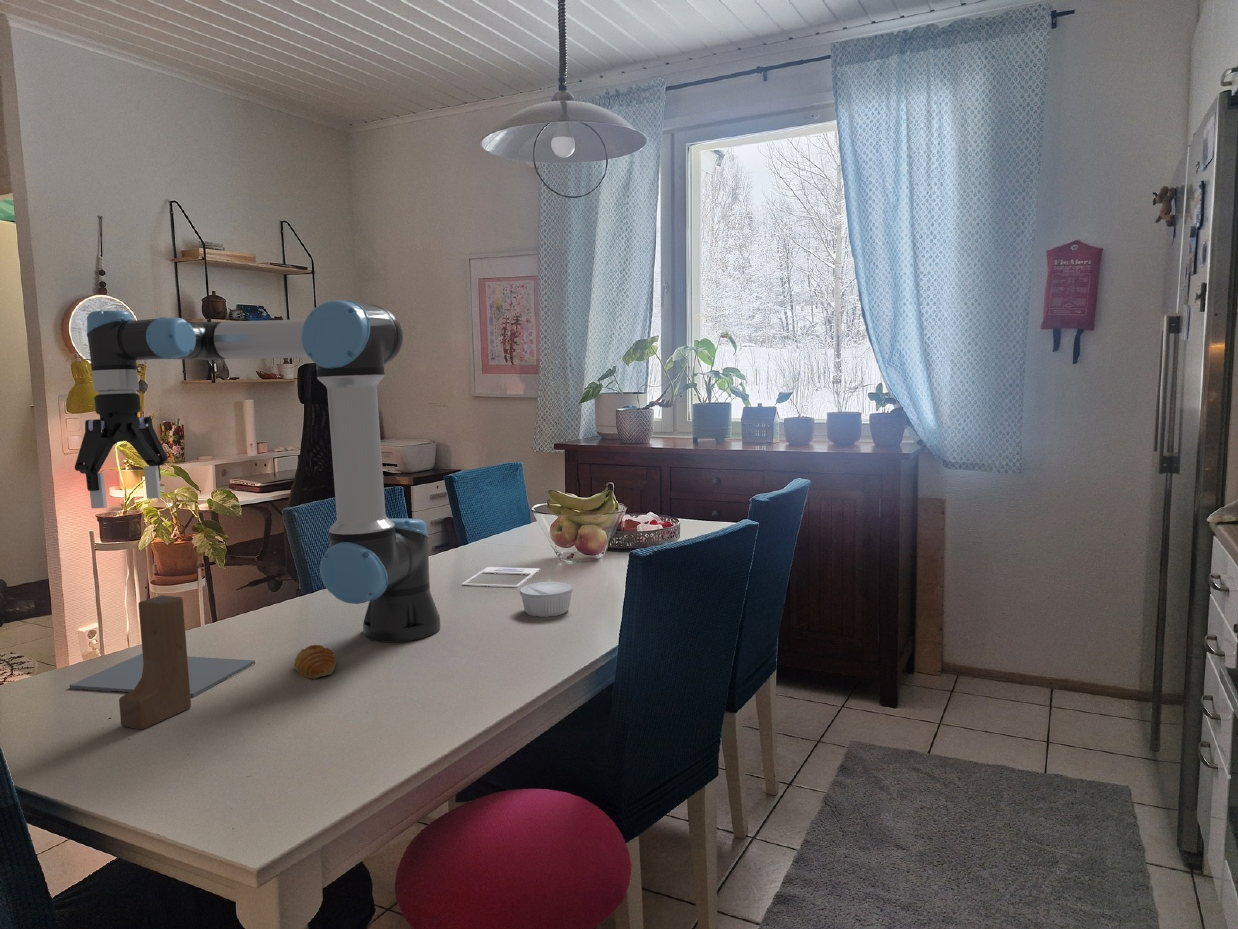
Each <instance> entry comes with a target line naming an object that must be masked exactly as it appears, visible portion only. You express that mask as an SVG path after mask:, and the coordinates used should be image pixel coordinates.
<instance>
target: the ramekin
mask: <svg viewBox="0 0 1238 929" xmlns="http://www.w3.org/2000/svg"><path fill="white" fill-rule="evenodd" d="M572 593H573V586H572V585H570V584H569V583H566V582H562V581H542V582H534V583H530V584H527V585H525V586H524V585H523V586H522V587H521V588H520V590H519V595H520V596H521V599H522V605H523V608H524V609H523V610H524V612H525V613H526V614H527V615H529V616H531V617H536V616H539V618H540V617H541V618H549V616H552V617H556V616H560V615H564V614H566V613H567V612H568V611H569V608H570V606H571V605H570V604H571V598H572Z"/></svg>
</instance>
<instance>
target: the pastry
mask: <svg viewBox="0 0 1238 929" xmlns="http://www.w3.org/2000/svg"><path fill="white" fill-rule="evenodd" d="M336 664H337V658H336V656H335V655H334V651H333V650H332V649H331V648H329V647H325V646H323V645H319V644H313V645H308V646H306V647H305V648H302V649H301V650H300V651H299V652H298V653H297V655H296V657H295V661H294V665H293V666H294V669H295V670H296V672H297V673H298V674H299V675H301V676H303V677H305V678H307V679H313V680H314V679H318V678H320V677H323V676H324V677H326V676H330V675H332V673H333V672H334V671H335V669H336Z"/></svg>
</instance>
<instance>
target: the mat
mask: <svg viewBox="0 0 1238 929" xmlns="http://www.w3.org/2000/svg"><path fill="white" fill-rule="evenodd" d="M187 660H188V672H189V685H190V698H195V697H197V696H199V695H200V694H202V693H204V692H207V691H208V690H209V688H210V689H212V688H214V687H215V686H216V685H215V684H217V685H219V684H220V683H219V682H221V681H222V682H224V681H226V680H228V679H230V678H231V676H232V675H233V676H235V675H237V674H239V673H241V672H243V671H244V670H246V669H248V668H250V667H251V665H252V664H254V665H255V664H256V660H253V659H237V658H220V657H219V658H217V657H216V658H215V657H202V656H201V657H200V656H187ZM143 665H144V664H143V653H139V654H138V655H136V656H133V657H130V658H128V659H126V660H124V661H121V662H119V663H117V664H115V665H113V666H112V665H111V667H108V668H105V669H104V670H102V671H99V672H97V673H94V674H92V675H90V676H87V677H84V678H83V679H80V680H78V681H76V682H74V683H71V684H69V689H73V690H82V689H85V690H84V691H97V690H99V691H98V692H111V691H119V692H118V693H125V692H130V691H132V690H134V689H135V687H136V686H137V684H138V682H139V681H140V679H141V678H142V672H143ZM252 666H253V665H252ZM247 667H248V668H247ZM245 668H246V669H245ZM242 670H243V671H242ZM240 671H241V672H240ZM238 672H239V673H238ZM236 673H237V674H236ZM234 674H235V675H234ZM233 676H232V677H233ZM229 677H230V678H229ZM227 678H228V679H227ZM225 679H226V680H225ZM222 682H221V683H222ZM218 683H219V684H218ZM214 685H215V686H214ZM86 689H88V690H86ZM207 689H208V690H207ZM100 690H101V691H100ZM120 691H122V692H120ZM203 691H204V692H203ZM196 695H197V696H196Z"/></svg>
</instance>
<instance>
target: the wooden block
mask: <svg viewBox="0 0 1238 929" xmlns="http://www.w3.org/2000/svg"><path fill="white" fill-rule="evenodd" d="M137 606H138V616H139V627H140V629H139V630H140V638H141V640H140V642H141V649H142V654H143V664H144V665H143V672H142V678H141V679H140V681H139V682H138V684H137V686H136V687H135V689H134V690H132V691H130V692H129V693H124V695H122V696H120V697H119V699H118V703H119V704H118V706H119V715H120V716H119V717H120V725H121V726H122V727H125V728H129V729H130V728H131V729H134V730H135V729H136V730H142V731H143V730H145V729H147V728H149V727H151V726H154V725H155V724H158V723H160V722H162V721H164V720H167V719H169V718H172V717H173V716H175V715H178V714H180V713H182V712H185V711H187V710H189V709H190V708H192V701H191V700H192V699H191V698H192V697H190V685H189V672H188V660H187V657H188V651H187V650H188V649H187V636H186V625H185V624H186V623H185V611H184V599H183V597H182V596H181V597H180V596H175V595H174V596H173V595H165V594H164V595H163V594H161V595H157V596H155V597H152V598H148V599H144V600H141V601H139V602H138V605H137Z"/></svg>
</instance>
